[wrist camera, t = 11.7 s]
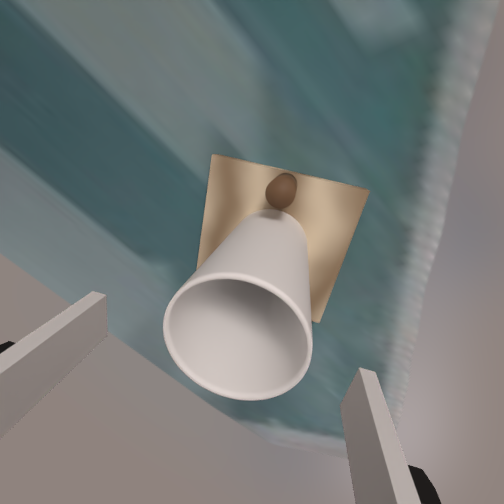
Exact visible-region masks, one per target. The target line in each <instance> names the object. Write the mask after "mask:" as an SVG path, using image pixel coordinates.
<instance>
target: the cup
mask: <svg viewBox="0 0 504 504" xmlns="http://www.w3.org/2000/svg"><path fill="white" fill-rule="evenodd" d="M163 333H164V339H165V343H166V346H167V348H168V351H169V353H170V355H171V357H172V358H173V360H174V361H175V363H176V364H177V365H178V367H179V368H180V369H181V370H182V371H183V372H184V373H185V374H186V375H187V376H188V377H189V378H190V379H191V380H193V381H194V382H195V383H197V384H198V385H200V386H201V387H203V388H205V389H207V390H209V391H211V392H213V393H215V394H218V395H221V396H224V397H228V398H232V399H237V400H249V401H252V400H264V399H269V398H272V397H276V396H278V395H281V394H283V393H285V392H287V391H288V390H290V389H291V388H293V387H294V386H295V385H296V384H297V383H298V382H299V381H300V380H301V379H302V377H303V376H304V375H305V373H306V371H307V369H308V367H309V364H310V360H311V355H312V323H311V303H310V284H309V266H308V247H307V238H306V235H305V232H304V230H303V228H302V226H301V225H300V224H299V222H298V221H297V220H296V219H295V218H293V217H292V216H291V215H289V214H287V213H285V212H283V211H279V210H275V209H263V210H259V211H256V212H253V213H251V214H250V215H248V216H247V217H245V218H244V219H243V220H242V221H241V222H240V223H239V225H238V226H237V227H236V228H235V229H234V230H233V231H232V232H231V233H230V234H229V235H228V237H227V238H226V239H225V240H224V241H223V242H222V243H221V244H220V245H219V246H218V248H217V249H216V250H215V251H214V252H213V253H212V254H211V255H210V256H209V257H208V258H207V260H206V261H205V262H204V263H203V264H202V265H201V266H200V267H199V268H198V269H197V270H196V272H195V273H194V274H193V275H192V276H191V277H190V278H189V279H188V280H187V281H186V283H185V284H184V285H183V286H182V287H181V288H180V289H179V290H178V291H177V293H176V294H175V295H174V297H173V298H172V300H171V301H170V303H169V305H168V307H167V309H166V312H165V315H164V321H163Z"/></svg>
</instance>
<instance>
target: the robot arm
mask: <svg viewBox="0 0 504 504" xmlns="http://www.w3.org/2000/svg"><path fill="white" fill-rule="evenodd" d="M106 337H107V299H106V295H104V294H101V293H98V292H94V291H92V292H91V293H89V294H88V295H86V296H85V297H83V298H82V299H81V300H79V301H78V302H76V303H75V304H73V305H72V306H70V307H69V308H67V309H66V310H64V311H63V312H61V313H60V314H58V315H57V316H56V317H54V318H53V319H51V320H50V321H48V322H47V323H45V324H44V325H42V326H41V327H39V328H38V329H36V330H35V331H33V332H32V333H30V334H29V335H27V336H26V337H24V338H23V339H21V340H20V341H19V342H17V343H14V342H11V341H8V342H6V343H4V344H1V345H0V439H1V438H2V437H3V436H4V435H5V434H6V433H7V432H8V431H9V430H10V429H11V428H12V427H13V426H14V425H16V423H18V422H19V421H20V420H21V419H22V418H23V417H24V416H25V415H26V414H27V413H28V412H29V411H30V410H31V409H32V408H33V407H34V406H35V405H36V404H37V403H38V402H39V401H40V400H42V398H44V397H45V396H46V395H47V394H48V393H49V392H50V391H51V390H52V389H53V388H54V387H55V386H56V385H57V384H58V383H59V382H60V381H61V380H62V379H63V378H64V377H65V376H66V375H67V374H69V373H70V371H72V370H73V369H74V368H75V367H76V366H77V365H78V364H79V363H80V362H81V361H82V360H83V359H84V358H85V357H86V356H87V355H88V354H89V353H90V352H91V351H92V350H93V349H94V348H96V347H97V346H98V345H99V343H101V342H102V341H103V340H104V339H105V338H106ZM340 410H341V416H342V422H343V428H344V435H345V441H346V447H347V453H348V459H349V466H350V472H351V478H352V484H353V490H354V496H355V503H356V504H441V502H440V499H439V497H438V494H437V492H436V489H435V488H434V486H433V485H432V483H431V482H430V480H429V479H428V477H427V476H426V474H425V473H424V471H423V470H422V469H419V468H417V467H413V466H410V465H407V462H406V459H405V456H404V453H403V450H402V447H401V445H400V442H399V439H398V436H397V433H396V430H395V427H394V424H393V422H392V419H391V416H390V413H389V410H388V407H387V404H386V401H385V399H384V396H383V393H382V390H381V387H380V384H379V381H378V378H377V376H376V373H375V372H373V371H370V370H366V369H363V368H359V369H358V371H357V373H356V375H355V377H354V379H353V381H352V383H351V385H350V387H349V389H348V391H347V393H346V395H345V397H344V398H343V400H342V402H341V404H340Z"/></svg>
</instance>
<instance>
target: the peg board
mask: <svg viewBox="0 0 504 504" xmlns="http://www.w3.org/2000/svg"><path fill="white" fill-rule="evenodd" d="M369 192H370V191H369V190H367V189H365V188H361V187H357V186H353V185H348V184H344V183H340V182H335V181H331V180H327V179H322V178H318V177H314V176H310V175H305V174H301V173H297V172H292V171H288V170H284V169H279V168H275V167H271V166H266V165H262V164H258V163H254V162H249V161H245V160H241V159H236V158H232V157H228V156H223V155H219V154H212V159H211V166H210V174H209V181H208V188H207V196H206V203H205V211H204V218H203V225H202V233H201V240H200V248H199V255H198V262H197V269H198V268H199V267H200V266H201V265H202V264H203V263H204V262H205V261H206V260H207V258H208V257H209V256H210V255H211V254H212V253H213V252H214V251H215V250H216V249H217V248H218V246H219V245H220V244H221V243H222V242H223V241H224V240H225V239H226V238H227V237H228V235H229V234H230V233H231V232H232V231H233V230H234V229H235V228H236V227H237V226H238V225H239V223H240V222H241V221H242V220H243V219H244V218H245V217H247V216H248V215H250V214H251V213H253V212H256V211H259V210H263V209H275V210H279V211H283V212H285V213H287V214H289V215H291V216H292V217H293V218H295V219H296V220H297V221H298V222H299V224H300V225H301V226H302V228H303V230H304V232H305V235H306V238H307V247H308V266H309V284H310V303H311V321H314V322H317V323H319V322H320V320H321V317H322V314H323V312H324V309H325V307H326V304H327V301H328V299H329V296H330V294H331V291H332V288H333V286H334V283H335V281H336V278H337V275H338V273H339V270H340V268H341V265H342V262H343V260H344V257H345V255H346V252H347V249H348V247H349V244H350V242H351V239H352V236H353V234H354V231H355V229H356V226H357V223H358V221H359V218H360V216H361V213H362V210H363V208H364V205H365V203H366V200H367V197H368V195H369Z"/></svg>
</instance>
